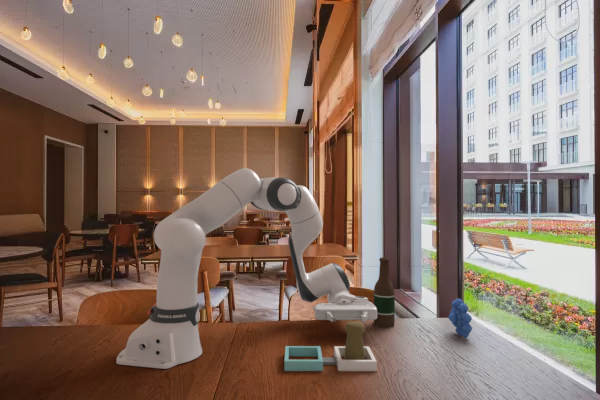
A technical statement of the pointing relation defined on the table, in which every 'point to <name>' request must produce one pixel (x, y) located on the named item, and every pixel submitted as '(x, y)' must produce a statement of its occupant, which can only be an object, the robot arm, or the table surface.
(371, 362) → the white socket
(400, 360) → the table surface
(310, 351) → the teal socket
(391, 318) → the beer bottle
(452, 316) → the grapes
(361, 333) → the olive pawn
